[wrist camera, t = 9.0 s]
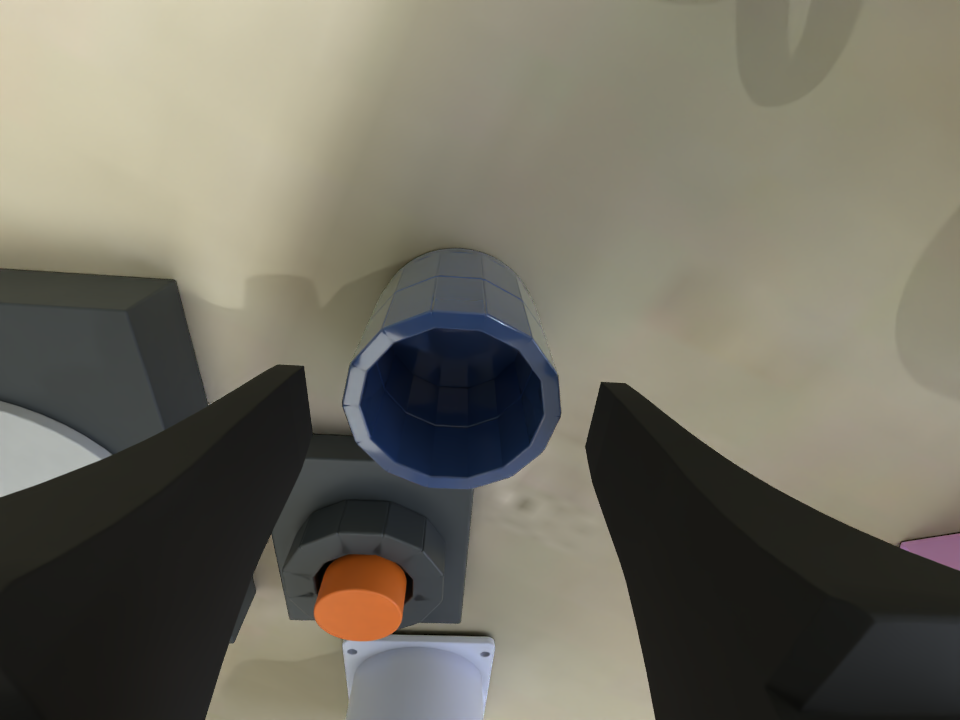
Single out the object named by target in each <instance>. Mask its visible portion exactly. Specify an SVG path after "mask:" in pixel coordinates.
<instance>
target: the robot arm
mask: <svg viewBox="0 0 960 720" xmlns="http://www.w3.org/2000/svg"><path fill="white" fill-rule="evenodd" d="M312 435H313V433H312V425H311V417H310V409H309V402H308V394H307V386H306V378H305V371H304V366H295V365H276V366H274V367H272V368H270V369H268V370H267V371H265V372H263V373H262V374H260V375H258V376H257V377H255V378H253V379H252V380H250V381H248V382H247V383H245V384H244V385H242V386H240V387H239V388H237V389H235V390H234V391H232V392H230V393H229V394H227V395H225V396H224V397H222V398H221V399H219V400H217V401H216V402H214V403H212V404H211V405H209V406H207V407H205V408H204V409H202V410H200V411H198V412H196V413H195V414H193V415H191V416H189V417H187V418H186V419H184V420H182V421H180V422H178V423H177V424H175V425H173V426H171V427H169V428H167V429H166V430H164V431H162V432H160V433H158V434H156V435H154V436H152V437H150V438H148V439H146V440H144V441H142V442H140V443H137V444H135V445H133V446H131V447H129V448H126V449H124V450H122V451H120V452H118V453H115V454H113V455H111V456H109V457H106V458H104V459H102V460H99V461H97V462H94V463H92V464H89V465H86V466H84V467H81V468H79V469H76V470H74V471H71V472H69V473H66V474H63V475H61V476H58V477H56V478H53V479H51V480H48V481H46V482H43V483H40V484H37V485H35V486H32V487H29V488H26V489H23V490H20V491H17V492H14V493H11V494H8V495H6V496H3V497H0V720H205V718H206V715H207V711H208V708H209V705H210V702H211V698H212V695H213V692H214V689H215V685H216V682H217V679H218V676H219V673H220V669H221V666H222V663H223V660H224V657H225V654H226V651H227V648H228V645H229V642H230V639H231V636H232V633H233V630H234V627H235V624H236V621H237V618H238V615H239V612H240V609H241V607H242V604H243V601H244V598H245V595H246V593H247V590H248V587H249V584H250V581H251V579H252V576H253V573H254V571H255V568H256V566H257V564H258V561H259V559H260V557H261V554H262V552H263V550H264V548H265V546H266V544H267V542H268V539H269V537H270V535H271V533H272V531H273V529H274V527H275V525H276V523H277V521H278V519H279V517H280V515H281V512H282V510H283V508H284V506H285V504H286V502H287V500H288V498H289V496H290V494H291V492H292V489H293V487H294V485H295V483H296V481H297V479H298V477H299V474H300V472H301V470H302V467H303V464H304V461H305V458H306V455H307V452H308V448H309V445H310V442H311V438H312ZM585 448H586V453H587V459H588V464H589V469H590V474H591V479H592V483H593V486H594V489H595V492H596V495H597V498H598V501H599V504H600V507H601V509H602V512H603V515H604V518H605V521H606V524H607V527H608V529H609V532H610V535H611V538H612V541H613V544H614V546H615V549H616V552H617V555H618V558H619V561H620V563H621V567H622V570H623V573H624V577H625V580H626V583H627V588H628V592H629V596H630V600H631V604H632V609H633V613H634V617H635V621H636V625H637V630H638V635H639V639H640V644H641V649H642V653H643V658H644V663H645V667H646V672H647V677H648V682H649V688H650V693H651V698H652V703H653V709H654V714H655V719H656V720H960V571H959V570H956V569H954V568H951V567H948V566H946V565H943V564H941V563H938V562H935V561H933V560H930V559H927V558H925V557H922V556H920V555H917V554H914V553H912V552H909V551H906V550H904V549H901V548H899V547H897V546H894V545H892V544H889V543H887V542H885V541H883V540H880V539H878V538H876V537H873V536H871V535H869V534H866V533H864V532H862V531H860V530H857V529H855V528H853V527H851V526H848V525H846V524H844V523H842V522H840V521H838V520H836V519H834V518H831V517H829V516H827V515H825V514H823V513H821V512H819V511H817V510H815V509H813V508H811V507H809V506H808V505H806V504H804V503H802V502H800V501H798V500H796V499H794V498H792V497H790V496H788V495H786V494H785V493H783V492H781V491H779V490H777V489H775V488H774V487H772V486H770V485H768V484H767V483H765V482H763V481H762V480H760V479H758V478H757V477H755V476H753V475H752V474H750V473H748V472H747V471H745V470H743V469H742V468H740V467H739V466H737V465H736V464H734V463H732V462H731V461H729V460H728V459H726V458H725V457H723V456H722V455H721V454H719V453H718V452H716V451H715V450H713V449H712V448H710V447H709V446H708V445H706V444H705V443H703V442H702V441H701V440H699V439H698V438H696V437H695V436H694V435H692V434H691V433H690V432H688V431H687V430H686V429H684V428H683V427H682V426H680V425H679V424H678V423H677V422H675V421H674V420H673V419H671V418H670V417H669V416H668V415H666V414H665V413H664V412H663V411H661V410H660V409H659V408H658V407H656V406H655V405H654V404H652V403H651V402H650V401H649V400H647V399H646V398H645V397H644V396H642V395H641V394H640V393H638V392H637V391H636V390H634V389H633V388H632V387H630V386H629V385H627V384H626V383H610V382H601V384H600V388H599V393H598V397H597V401H596V405H595V409H594V413H593V417H592V421H591V425H590V429H589V433H588V437H587V442H586V446H585ZM342 648H343V656H344V665H345V673H346V681H347V689H348V697H349V704H348V709H347V714H346V719H345V720H483V717H484V711H485V705H486V699H487V693H488V687H489V681H490V675H491V669H492V663H493V657H494V651H495V642H494V640H493V639H492V638H491V637H486V636H439V635H389V636H387V637H384V638H381V639H378V640H373V641H350V640H345V639H343V644H342Z"/></svg>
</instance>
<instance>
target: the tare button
mask: <svg viewBox="0 0 960 720" xmlns="http://www.w3.org/2000/svg"><path fill="white" fill-rule="evenodd" d="M406 584H407V579H406V576H405V573H404V571H403V570H402V568H401V567H400V566H399V565H398V564H396V563H395V562H392V561H390V560H387V559H385V558H382V557H380V556H377V555H358V554H348V555H345V556H342V557H340V558H338V559H336V560H334V561H333V562H332V563H331V564H330V565H329V566H328V567H327V569H326V571H325V573H324V577H323V580H322V583H321V587H320V590H319V593H318V597H317V600H316V603H315V607H314V617H315V620H316V622H317V624H318V625H319V626H320V627H321V628H322V629H323V630H324V631H326V632H327V633H329V634H331V635H333V636H335V637H338V638H341V639H345V640H350V641H373V640H378V639H381V638H384V637H387V636H389V635H390V634H392V633H393V632H394V631H396V630H397V628H398V627H399V626H400V624H401V621H402V616H403V608H404V600H405V593H406Z"/></svg>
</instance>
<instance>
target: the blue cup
mask: <svg viewBox="0 0 960 720" xmlns="http://www.w3.org/2000/svg"><path fill="white" fill-rule="evenodd" d="M342 407H343V409H344V412H345V415H346V418H347V420H348V423H349V426H350V429H351V432H352V434H353V437H354V440H355V442H356V443H357V445H358V446H359V447H360V448H361V449H362V450H363V451H365V452H366V453H367V454H368V455H369V456H370V457H371V458H372V459H373V460H374V461H375V462H376V463H377V464H378V465H379V466H380V467H381V468H382V469H384V470H385V471H387V472H388V473H390V474H393V475H395V476H398V477H400V478H403V479H405V480H408V481H410V482H413V483H415V484H418V485H420V486H423V487H427V488H443V489H474V488H477V487H480V486H484V485H487V484H490V483H493V482H497V481H500V480H503V479H507V478H510V477H511V476H513V475H515V474H516V473H517V472H518V471H520V470H521V469H522V468H524V467H525V466H526V465H527V464H529V463H530V462H531V461H532V460H534V459H535V458H536V457H537V456H539V455H540V454H541V453H542V452H543V451H544V450H545V448H546V446H547V444H548V442H549V440H550V438H551V436H552V434H553V432H554V429H555V427H556V425H557V423H558V421H559V419H560V417H561V401H560V388H559V376H558V373H557V370H556V367H555V364H554V361H553V358H552V355H551V352H550V348H549V345H548V342H547V339H546V336H545V333H544V330H543V327H542V324H541V321H540V318H539V315H538V312H537V309H536V306H535V303H534V301H533V300H532V298H531V297H530V294H529V292H528V290H527V288H526V287H525V285H524V283H523V282H522V281H521V279H520V278H519V277H518V275H517V274H516V273H515V272H514V271H513V270H512V269H511V268H509V267H508V266H507V265H505V264H504V263H503V262H501V261H500V260H498V259H496V258H494V257H492V256H490V255H488V254H485V253H482V252H479V251H475V250H470V249H463V248H449V249H441V250H436V251H432V252H429V253H426V254H424V255H421V256H419V257H417V258H415V259H414V260H412V261H410V262H409V263H407V264H406V265H405V266H404V267H402V268H401V269H400V270H399V271H398V272H397V273H396V274H395V275H394V276H393V278H392V279H391V281H390V282H389V283H388V285H387V287H386V288H385V289H384V290H383V292H382V293H381V295H380V297H379V300H378V302H377V304H376V306H375V309H374V311H373V313H372V315H371V318H370V320H369V322H368V325H367V327H366V329H365V331H364V333H363V335H362V338H361V340H360V342H359V344H358V347H357V349H356V351H355V353H354V356H353V358H352V360H351V362H350V365H349V369H348V374H347V379H346V384H345V389H344V394H343V399H342Z"/></svg>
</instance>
